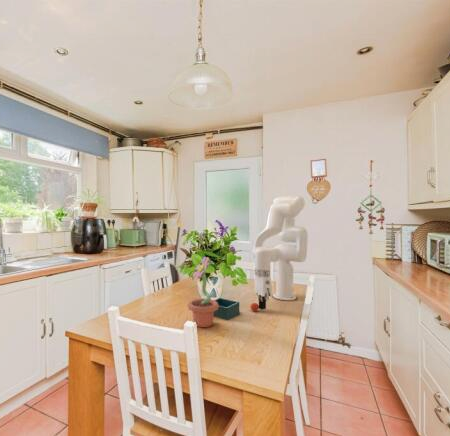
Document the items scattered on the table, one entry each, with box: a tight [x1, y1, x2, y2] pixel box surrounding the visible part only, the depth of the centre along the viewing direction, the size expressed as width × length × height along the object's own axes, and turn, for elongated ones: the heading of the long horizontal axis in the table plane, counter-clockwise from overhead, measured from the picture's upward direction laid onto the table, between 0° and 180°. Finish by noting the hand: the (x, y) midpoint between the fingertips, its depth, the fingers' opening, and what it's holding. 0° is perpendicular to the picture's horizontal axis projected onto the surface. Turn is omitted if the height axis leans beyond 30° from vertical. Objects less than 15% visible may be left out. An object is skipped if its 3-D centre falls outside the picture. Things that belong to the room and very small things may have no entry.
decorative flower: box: [187, 256, 219, 328], centre depth 123 cm, size 15×14×30 cm
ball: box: [250, 302, 260, 312], centre depth 140 cm, size 4×4×4 cm
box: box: [213, 297, 240, 321], centre depth 136 cm, size 12×12×6 cm
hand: (262, 308), depth 141 cm, fingers closed
